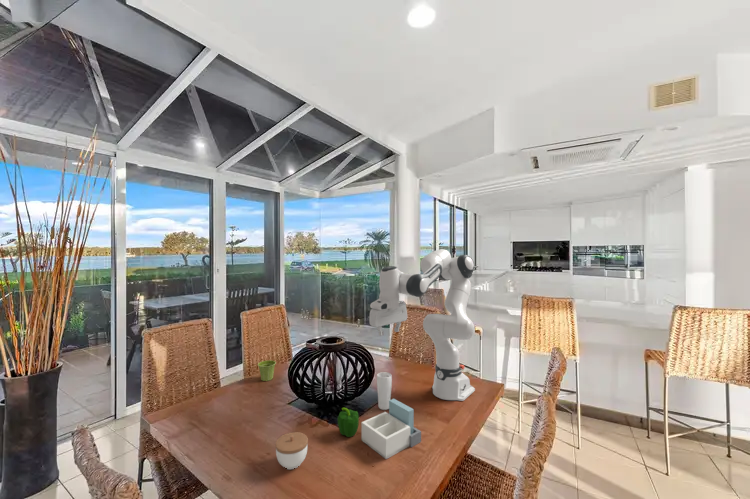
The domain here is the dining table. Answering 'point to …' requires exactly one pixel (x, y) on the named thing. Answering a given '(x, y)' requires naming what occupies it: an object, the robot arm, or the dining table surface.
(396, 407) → the door
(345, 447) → the dining table surface
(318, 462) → the dining table surface
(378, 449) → the cabinet
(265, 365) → the plant pot
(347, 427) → the bell pepper
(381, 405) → the drinking glass
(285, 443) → the lidded jar
